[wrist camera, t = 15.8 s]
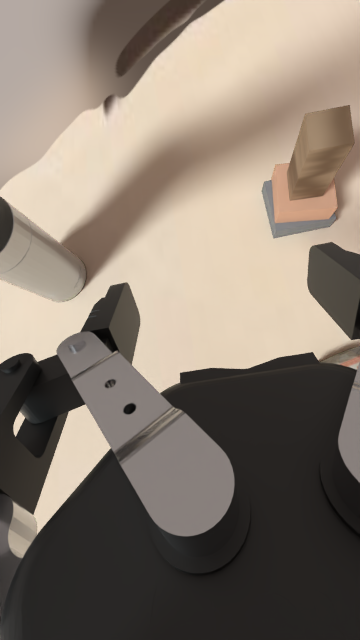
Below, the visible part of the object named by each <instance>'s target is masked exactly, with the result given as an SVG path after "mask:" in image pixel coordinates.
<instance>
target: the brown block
mask: <svg viewBox="0 0 360 640" xmlns="http://www.w3.org/2000/svg"><path fill="white" fill-rule="evenodd" d="M353 145H354V135H353V128H352V120H351V112H350V105H348V106H342V107H337V108H332V109H327V110H322V111H317V112H312V113H307V114H305V116H304V120H303V123H302V126H301V129H300V132H299V135H298V139H297V142H296V145H295V148H294V151H293V155H292V158H291V161H290V164H289V167H288V171H287V179H288V189H289V199H290V201H292V200H299V199H306V198H313V197H320V196H323V195H324V193H325V191H326V190H327V188H328V186H329V185H330V183H331V181H332V180H333V178H334V176H335V175H336V173H337V171H338V170H339V168H340V166H341V165H342V163H343V161H344V160H345V158H346V156H347V155H348V153H349V151H350V150H351V148H352V146H353Z"/></svg>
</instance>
